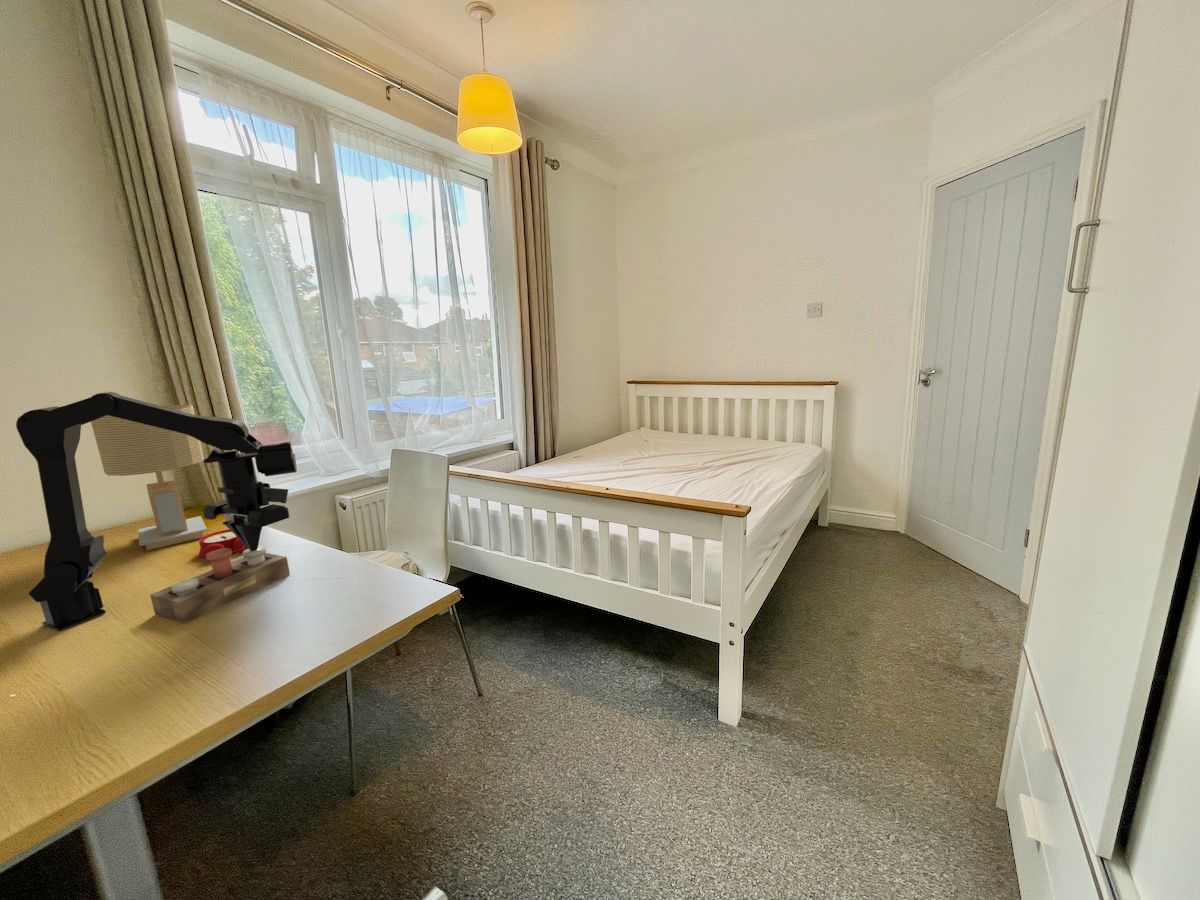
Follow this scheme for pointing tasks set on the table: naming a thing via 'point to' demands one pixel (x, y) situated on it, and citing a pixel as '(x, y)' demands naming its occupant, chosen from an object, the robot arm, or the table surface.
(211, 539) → the alarm clock
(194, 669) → the table surface
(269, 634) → the table surface
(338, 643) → the table surface
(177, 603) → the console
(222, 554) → the red plug
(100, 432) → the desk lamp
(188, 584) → the left plug
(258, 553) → the right plug
